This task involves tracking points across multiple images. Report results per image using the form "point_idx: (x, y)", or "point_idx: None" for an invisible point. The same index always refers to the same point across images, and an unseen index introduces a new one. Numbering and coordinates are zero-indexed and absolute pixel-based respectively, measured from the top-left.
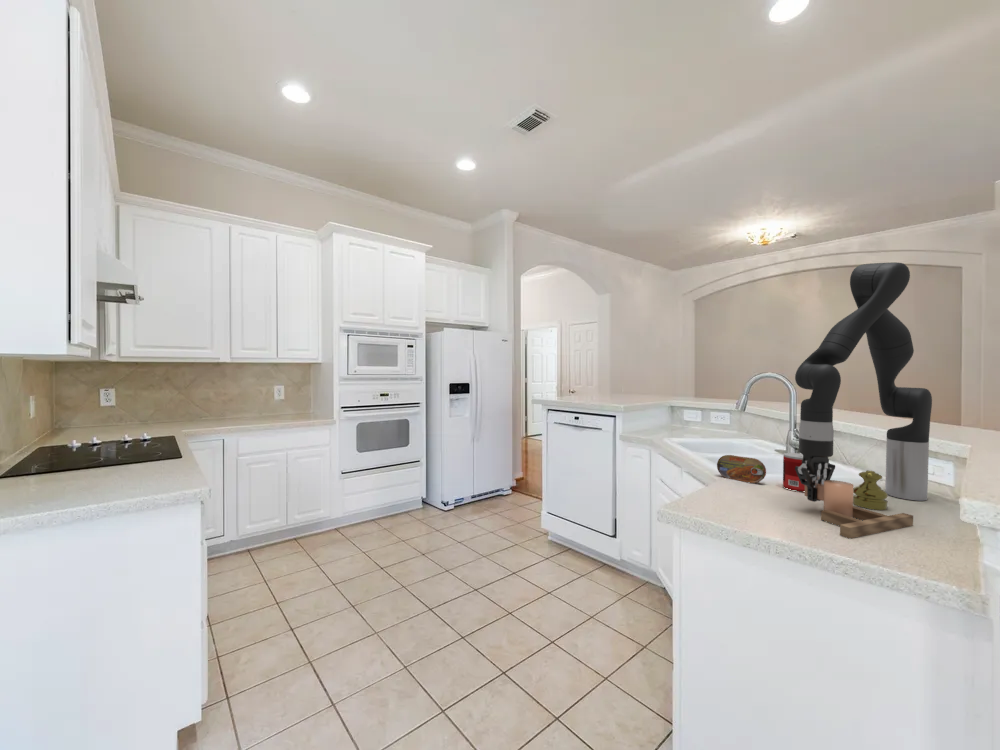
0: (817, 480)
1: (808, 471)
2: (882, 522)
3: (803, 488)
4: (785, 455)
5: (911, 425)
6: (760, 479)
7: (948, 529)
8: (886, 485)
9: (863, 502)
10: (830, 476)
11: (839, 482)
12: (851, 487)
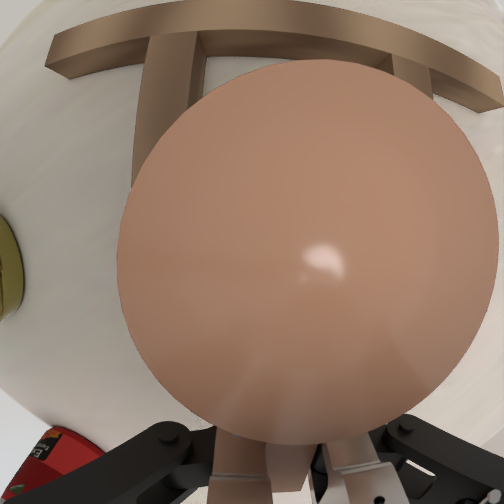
0: (338, 465)
1: (499, 493)
2: (300, 4)
3: (84, 450)
4: None
5: None
6: None
7: (37, 25)
8: None
9: (7, 265)
10: (105, 467)
11: (263, 319)
12: (347, 72)
